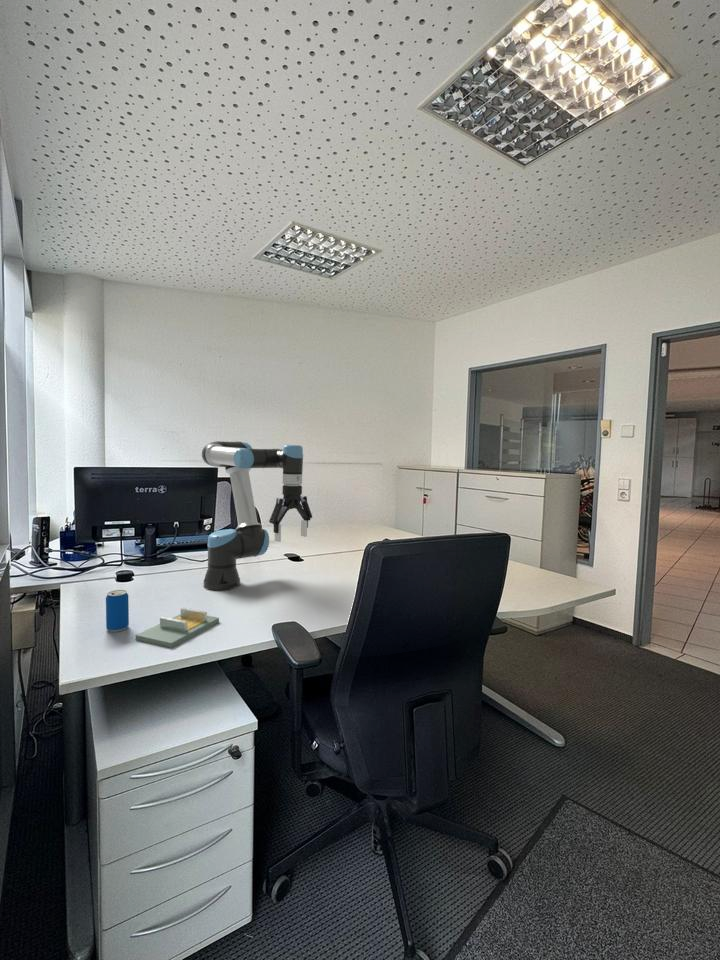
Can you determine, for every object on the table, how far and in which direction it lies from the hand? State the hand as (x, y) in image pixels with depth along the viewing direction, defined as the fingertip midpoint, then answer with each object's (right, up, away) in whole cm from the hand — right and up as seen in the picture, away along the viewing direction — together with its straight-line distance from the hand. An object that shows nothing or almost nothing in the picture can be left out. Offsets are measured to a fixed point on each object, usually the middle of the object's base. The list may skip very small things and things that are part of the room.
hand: (291, 538), depth 179 cm
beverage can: (-52, -26, -30) cm, 65 cm away
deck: (-32, -26, -30) cm, 51 cm away
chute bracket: (-31, -24, -29) cm, 49 cm away
